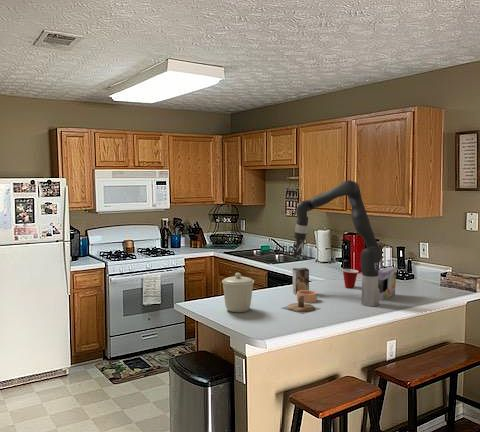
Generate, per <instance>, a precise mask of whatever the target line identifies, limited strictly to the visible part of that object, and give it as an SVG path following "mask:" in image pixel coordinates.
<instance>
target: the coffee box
mask: <svg viewBox="0 0 480 432" xmlns="http://www.w3.org/2000/svg"><path fill="white" fill-rule="evenodd" d="M301 290H310V269H309V268H307V267H294V268H292V293H293V295H295V294H297V291H301Z"/></svg>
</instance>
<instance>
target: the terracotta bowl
mask: <svg viewBox="0 0 480 432" xmlns="http://www.w3.org/2000/svg"><path fill="white" fill-rule="evenodd" d="M317 294H318V293H317V291H314V290H310V289H309V290H301V291H297V295H296V300H297V302H298V296H300V295H302V296H304V303H305V304H309V303H315V302H317V297H318V296H317Z"/></svg>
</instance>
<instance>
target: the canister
mask: <svg viewBox="0 0 480 432" xmlns="http://www.w3.org/2000/svg"><path fill="white" fill-rule="evenodd" d="M221 283H222V288H223V295H224V304H225V308H226V310H227V311H228V312H231V313H244V312H248V311H249V309H250V308H251V306H252V305H251V304H252V296H253V288H254V286H253V285H254V284H255V280H254V279H252V278H251V277H247V276H243V275H242V273H240V272H235V274H234V275H233V276H229V277H226V278H224V279H222V280H221Z"/></svg>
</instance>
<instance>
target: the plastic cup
mask: <svg viewBox="0 0 480 432" xmlns="http://www.w3.org/2000/svg"><path fill="white" fill-rule="evenodd" d="M341 271H342V273H343V282H344V286H345V287H344V288H345V289H354V288H355V285H356V281H357V276H358V273H359V270H357V269H351V268H342V270H341Z"/></svg>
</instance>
